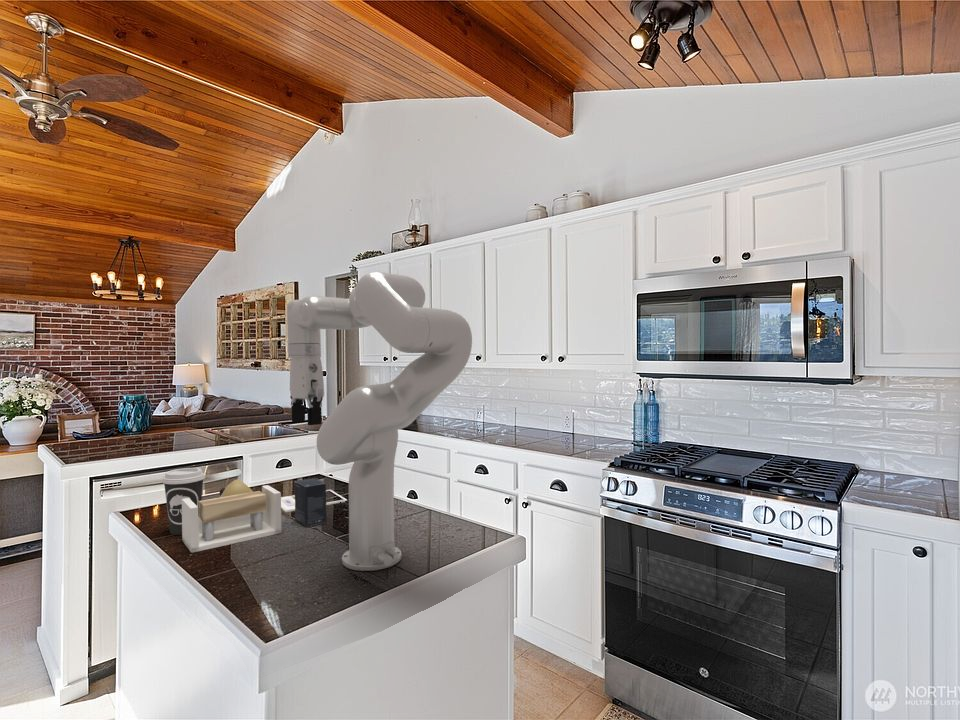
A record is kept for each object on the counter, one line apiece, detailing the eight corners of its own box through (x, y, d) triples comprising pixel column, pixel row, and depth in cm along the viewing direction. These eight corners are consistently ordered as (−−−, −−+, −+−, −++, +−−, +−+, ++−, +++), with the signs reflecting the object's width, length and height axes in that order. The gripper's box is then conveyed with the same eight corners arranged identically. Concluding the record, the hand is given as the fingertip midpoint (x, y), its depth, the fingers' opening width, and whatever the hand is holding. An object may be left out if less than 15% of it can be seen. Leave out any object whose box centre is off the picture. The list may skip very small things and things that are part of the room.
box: (326, 522, 139) (326, 482, 139) (305, 527, 135) (305, 486, 135) (315, 515, 145) (314, 477, 145) (294, 520, 141) (294, 480, 141)
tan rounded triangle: (252, 509, 151) (252, 472, 151) (260, 520, 141) (260, 480, 141) (214, 515, 146) (213, 477, 146) (219, 527, 136) (219, 486, 136)
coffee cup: (214, 527, 135) (213, 469, 135) (176, 539, 127) (175, 477, 127) (192, 521, 140) (191, 465, 140) (154, 532, 132) (153, 472, 132)
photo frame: (272, 498, 160) (330, 488, 171) (272, 501, 160) (330, 492, 171) (285, 509, 148) (347, 499, 159) (285, 513, 148) (347, 502, 159)
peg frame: (281, 532, 131) (280, 492, 131) (191, 552, 119) (190, 508, 118) (268, 522, 139) (267, 485, 139) (182, 540, 126) (181, 499, 126)
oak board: (266, 510, 131) (265, 494, 131) (203, 522, 122) (203, 505, 122) (259, 506, 135) (259, 490, 135) (198, 517, 126) (198, 501, 126)
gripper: (335, 350, 123) (336, 424, 123) (305, 352, 136) (307, 419, 136) (303, 351, 118) (305, 427, 118) (276, 352, 131) (277, 421, 131)
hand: (306, 423), depth 127 cm, fingers open, 9 cm apart
